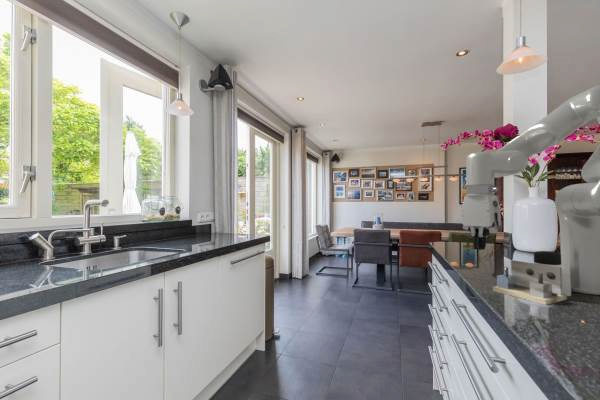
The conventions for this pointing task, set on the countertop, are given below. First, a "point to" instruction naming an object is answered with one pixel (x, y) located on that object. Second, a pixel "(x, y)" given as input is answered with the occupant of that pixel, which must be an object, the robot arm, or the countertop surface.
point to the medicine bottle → (554, 261)
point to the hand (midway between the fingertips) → (479, 249)
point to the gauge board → (535, 283)
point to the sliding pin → (506, 280)
